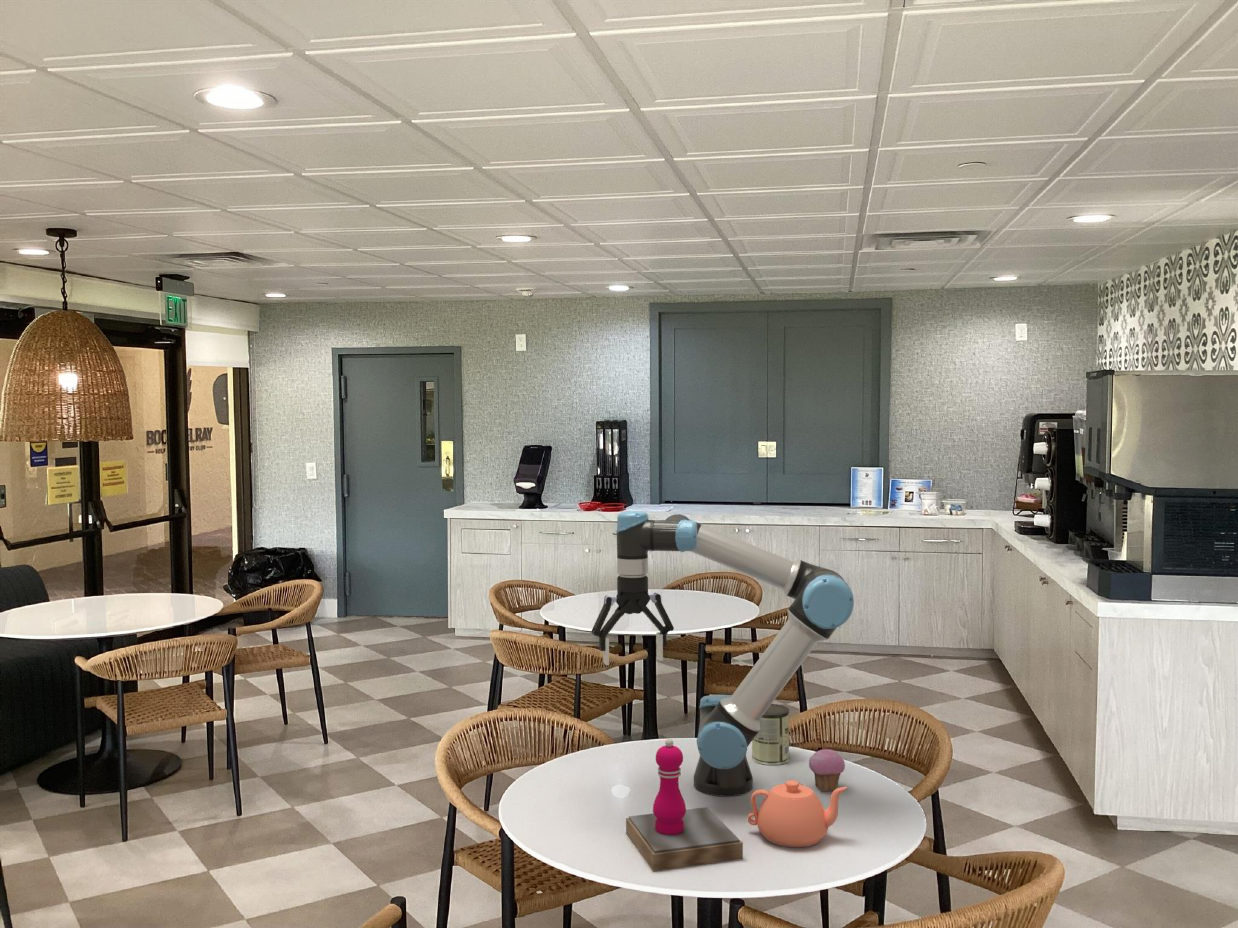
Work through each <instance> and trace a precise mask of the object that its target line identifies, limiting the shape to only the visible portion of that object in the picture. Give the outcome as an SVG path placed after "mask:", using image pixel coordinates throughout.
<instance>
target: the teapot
mask: <svg viewBox="0 0 1238 928" xmlns="http://www.w3.org/2000/svg"><path fill="white" fill-rule="evenodd" d="M847 788H848V786H841V787H838V788H836V789H835V790H834V791H832V793H831V795H830V803H829V806H828V808H827V809H826V810H825V809H824V807H823V804H822V802H821V801H820V799H819V798H818V796H817V794H816V792H815V791H814V790H812V789H811V788H810V787H808V786H806V785H803V784H800V782H799V781H798V780H793V779H792V780H790V779H789V780H786V781H785V783H781V784H777V785H774V786H773V787H772V788H771V789H770V790H766V789H763V788H761V789H757V790H755V791H754V792H753V793H751V796H750V805H751V809H752V812H751V813H749V814H748V815H747V822H748V824H750V825H751V826H757V828H758V830H759V832H760V833H761V834H762V836H763V837H764V838H766V840H768V841H769V842H770V843H773V844H776V845H779V846H782V847H783V846H784V847H789V848H805V847H809V846H814V845H816V844H818V843H819V842H820V841H821V840H822V839H823V838H824V837H825V836H826V835H827V833H828V829H829V828H830V827H831V826H833V824H834V823H835V822H836V821H837V817H838V814H839V812H838V811H839V800H840V796H841V794H842V793H843V792H844V791H845V790H846V789H847ZM759 795H762V796H765V798H764V800H763V801H762V803H761V805H760V807H759V810H758V807H757V802H756V798H757V796H759ZM752 817H754V819H752Z"/></svg>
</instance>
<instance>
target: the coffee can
mask: <svg viewBox="0 0 1238 928" xmlns="http://www.w3.org/2000/svg"><path fill="white" fill-rule="evenodd" d="M789 713H790V708H789V707H787V706H786V705H783V704H777V703H776V704H775V703H772V704H771V705H770V707H769V708H768V709H767V711H766V712H765V713H764V715H763V716H762V717H761V719H760V720H759V724H760V731H759V732H758V733H757V735H756V736H755V738H754V739H753V740H752V742H751V750H752V751H751V752H752V753H751V760H752V761H753V762H755V763H757V764H761V765H764V766H780V765H785V764H787V763H788V762H789V761H790V735H789V734H790V725H789V724H790V721H789V717H790V714H789Z"/></svg>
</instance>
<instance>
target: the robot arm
mask: <svg viewBox="0 0 1238 928" xmlns="http://www.w3.org/2000/svg"><path fill="white" fill-rule="evenodd" d="M616 519H617V520H616V530H615V531H616V532H615V533H616V560H617V561H616V569H617V570H616V573H617V577H616V586H617V587H616V590H617V592H616V596H609V595H605V596H604V599H603V605H602V606H601V610H600V611H599V613H598V616H597V619H596V620H595V622H594V624H593V626H592V629H591V634H592V635H593V636H595V637H598V643H599V644H598V646H599V647H598V649H599V651H601V652H602V658H603V659H602V660H603V661H602V662H603V664H604V665H605V666H610V638H609V637H608V635H609V633H610V631H612V629H613V628H614V627H615V625H616V624H617V623H618V621H619V620H620V619H621V617H623V616H624V615H625V614H627V615H633V614H636V615H637V614H641V613H643V614H644V615H645V616H646V617H647V619H649V621H650V622H651V623H652V624H653V625H654V626H655V628H656V629H657V630H658V632H656V635H655V636H656V637H655V638H656V641H655V642H656V643H655V644H656V650H655V651H656V660H658V661H659V662H663V661H664V650H663V648H665V647H666V646H667V635H668V633H669V632H670V631H671V632H672V631H674V629H675V628H674V625H673V623H672V621H671V619H670V617H669V615H668V613H667V611H666V609H665V607H664V605H663V603H662V594H659V592H654V593H653V594H649V577H648V575H647V574H649V559H648V558H649V553H648V552H655V551H656V552H680V553H684V552H691V553H694V554H695V555H698V556H701V557H703V558H706V559H707V560H711V561H713V562H715V563H717V564H720V565H722V566H725V567H727V568H730V569H732V570H734V571H736V572H739V573H741V574H744V575H747V576H748V577H751V578H753V579H756V580H759V581H761V582H763V583H766V584H769V585H770V586H773V587H775V588H778V589H780V590H782V591H783V593H784V595H785V596H787V597H789V598H792V599H794V600H793V602H792V603H791V604H790V606H788V608H787V613H788V614H787V616H788V620H787V621H786V622H785V623H784V624H783V626H782V627H781V629H780V630H779V631H778V633H777V634H776V636H775V637H774V638H773V639H772V640H771V643H769V645H768V646H767V648H766V649H765V650H764V652H763V653H762V654H761V656H760V657H759V659H758V660H757V661H756V663H754V665H753V666H752V668H751V669H750V671H749V672H748V673H747V674H746V676H745V677H744V679H743V680H742V681H741V683H740V684H739V685H738V687H737V688H736V689H735V691H734V692H733V693H732V695H729V694H710V695H704V696H703V697H701V698H700V700H699V701H700V703H699V707H698V708H699V727H698V734H697V736H696V746H697V750H698V753H699V758H698V762H697V763H696V767H695V771H694V773H693V787H694V788H695V790H697V791H699V792H701V793H703V794H706V795H710V796H717V797H734V796H735V797H736V796H739V795H740V796H741V795H744V794H746V793H749V792H751V790H752V789H753V787H754V779H753V777H754V776H753V773H752V771H751V768H750V765H749V762H748V759H747V751H748V748H749V745H750V744H752V740H753V739H754V738H755V736H756V735H757V733H758V732H759V731H760V724H759V720H760V719H761V717H762V716H763V715H764V713H765V712H766V711H767V709H768V708H769V707H770V705H771V704H774V703H773V702H775V700H776V699H777V697H778V696H779V694H780V693H781V692H782V691H783V689H784V688H785V687H786V685H787V684H788V682H789V681H790V680H791V678H792V677H794V674H795V673H796V671H798V669H799V668H800V666H801V665H802V664H803V663H804V661H805V660H806V659H807V658H808V656H809V654H810V653H811V652H812V650H813V649H814V648H815V646H816V645H817V644H818V643H819V642H821V641H822V642H823V641H827V640H829V639H830V637H831V636H832V635H833V634H834V632H835V631H836V629H837V628H839V627H840V626H842V625H844V624H845V623H846V622H848V620H849V618H851V615H852V613H853V610H854V604H855V600H854V594H853V592H852V591H853V590H852V588H851V587H850V586H849V584H848V583H847V582H846V581H845V579H844V578H843V576H841V575H840V574H839V573H838V572H836V571H834V570H831V569H830V568H825V567H822V566H818V565H816V564H812V563H809V562H807V561H804V560H801V559H798V560H795V561H794V560H791V559H788V558H786V557H783V556H781V555H778V554H776V553H773V552H771V551H768V550H766V549H764V548H760V547H758V546H756V545H753V544H752V543H749V542H746V541H744V540H741V539H739V538H736V537H734V536H731V535H728V534H727V533H724V532H722V531H719V530H717V529H715V528H712V527H709V526H707V525H704V524H703V523H702V524H701V523H699V522H697V521H695V520H693V519H690V518H688V516H686V515H684V514H680V513H678V514H677V513H676V514H675V513H674V514H670V515H669V516H667V518H666V519H659V520H658V519H655V520H654V519H649V516H648V513H647V512H646V511H640V510H639V511H638V510H632V511H631V510H629V511H628V510H626V511H621V512H620V513H619V514H618V515H617V517H616ZM650 601H651V603H653V604H654V605H655V608H656V610H657V612H658V614H659V616H660V617H661V619H662V622H663V623H662V622H661V621H660V620H659V619H658V618H657V617H656V616H655V615H654V614H653V612H652V611H651V610H650V609H649V607H648V606H647V605H648V604H649V602H650ZM615 603H616V604H617V605H618V606H617V607H616V609H615V610H614V612H613V613H612V615H611V616H610V618H609V619H608V620H607V617H608V615H609V612H610V610H611V608H612V607H613V606H614V604H615ZM606 620H607V621H606ZM605 622H606V623H605ZM604 623H605V624H604ZM663 624H664V626H663Z"/></svg>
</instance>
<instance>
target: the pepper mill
mask: <svg viewBox="0 0 1238 928" xmlns="http://www.w3.org/2000/svg"><path fill="white" fill-rule="evenodd" d="M683 761H684V754H683V752H682V750H681V749H680V748H679V747H678V746H676V745H674V740H673V739H671V738H667V739H665V745H661V747H659V748H658V749H657V751H656V753H655V763H656V764H657V766H658V767H657V775H658V776H659V780H660V781H659V789H658V792H657V794H656V796H655V799H654V801H653V804H652V812H653V813H654V815H655V817H656V818H657V819H656V820H655V830H656V831H657V832H659V833H661V834H665V835H675V834H679V833H681V832H682V831H683V830H684V821H683V820H682V818H683V817H684V815H685V813H686V809H687V808H686V807H687V806H686V802H685V800H684V797H683V795H682V793H681V792H682V791H681V789H680V786H679V777H680V776H681V775H682V774H681V769H682V768H681V767H680V766H681V765H682V764H683ZM653 813H652V814H653Z"/></svg>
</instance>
